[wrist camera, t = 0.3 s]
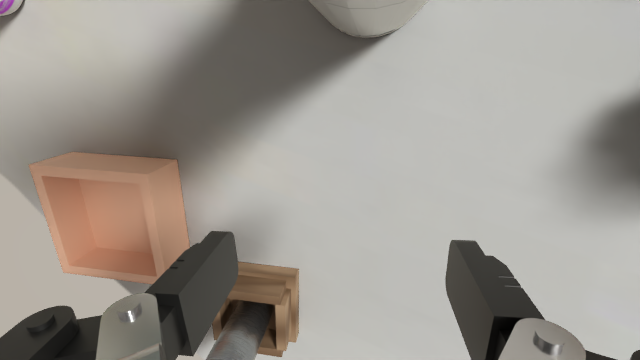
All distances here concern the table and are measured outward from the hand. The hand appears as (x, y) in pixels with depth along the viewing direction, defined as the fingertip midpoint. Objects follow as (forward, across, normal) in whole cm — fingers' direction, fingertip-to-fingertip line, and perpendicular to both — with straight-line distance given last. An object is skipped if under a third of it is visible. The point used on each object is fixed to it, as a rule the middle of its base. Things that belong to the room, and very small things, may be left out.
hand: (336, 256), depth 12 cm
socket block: (+18, +10, +18) cm, 28 cm away
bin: (+18, +24, +7) cm, 31 cm away
